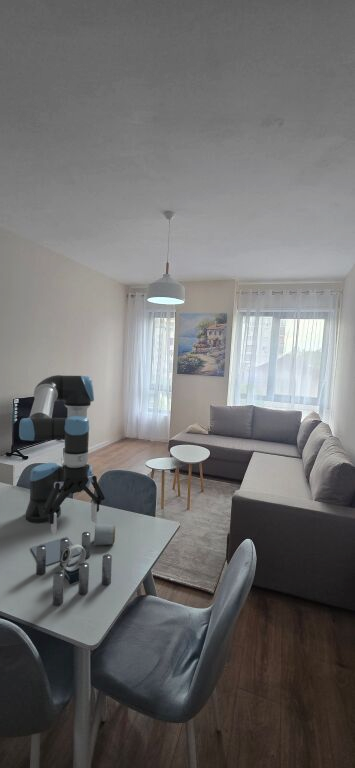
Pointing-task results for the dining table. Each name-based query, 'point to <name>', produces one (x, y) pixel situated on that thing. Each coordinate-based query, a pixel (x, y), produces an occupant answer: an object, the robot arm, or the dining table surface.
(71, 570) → the watch
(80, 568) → the post field
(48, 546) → the mat
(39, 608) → the dining table surface
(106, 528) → the ceramic mug
